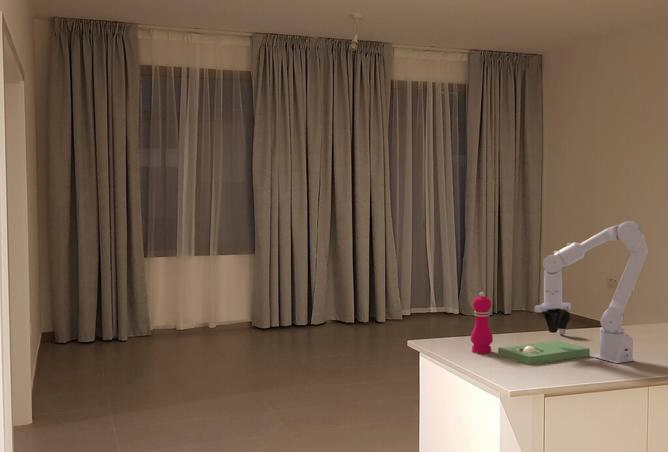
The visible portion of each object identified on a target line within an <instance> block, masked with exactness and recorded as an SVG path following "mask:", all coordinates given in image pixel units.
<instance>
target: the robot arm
mask: <svg viewBox="0 0 668 452" xmlns="http://www.w3.org/2000/svg"><path fill="white" fill-rule="evenodd" d="M618 240H621V242H622V243H623V244H625V246H626V248H627V250H628V252H629V253H630V256H629V257H628V261H627V263H626V265H625V268H624V270H623V272H622V275H621V278H620V280H619V282H618V284H617V287H616V289H615V292H614V294H613V297H612V299H611V302H610V303H609V306H608V308H607V309H606V310H604V312H603V313H602V315H601V316H600V319H599V320H600V322H599V323H600V326H601V327H600V328H599V347H598V348H599V349H598V350H599V352H598V353H599V354H596V355H593V356H592V358H596V359H598V360H604V361H607V362H610V363H614V364H621V363H627V362H633V361H635V358H634V357H633V354H634V353H633V352H634V348H633V347H634V342H633V337H632V336H631V335H630V334H627V333H626V332H625V329H624V328H623V326H622V325H623V323H624V320H625V319H624V312H625V309H626V308H627V304H628V302H629V299H630V297H631V294H632V293H633V290H634V288H635V286H636V283H637V280H638V278H639V276H640V274H641V271H642V268H643V266H644V264H645V262H646V259H647V257H648V253H649V249H648V245H647V242H646V238H645V234H644V231H643V229H642V228H641V227H640V225H639V223H637V222H635V221H633V220H626V221H623V222H622V223H620V224H616V225H613V226H611V227H608V228H605V229H604V230H602V231H600V232H598V233H597V234H594V235H593V236H591V237H590V238H588V239H586V240H584V241H582V242H581V243H580V242H575V241H574V242H572V243H571V242H568V243H566V246H564V247H563V248H561V249H559V250H557V249H556V250H554V251H553V254H548V255H547V256H546V257H545V258H544V259H543V261H542V267H543V269H544V271H543V275H544V276H543V302H542V303H541V304H537V305H534V313H542V316H543V317H544V319H545V322H546V324H547V325H546V326H547V328H548V333H552V334H556V333H557V332H558V325H559V322H560V320H561V318H562V316H563V315H564V311H561V309H565V310H571V309H572V303H571V302H567V301H566V302H563V276H562V272H563V271H562V269H563V267H568V266H570V265H572V264H574V263H576V262H578V261H580V260H581V259H584V258H585V254H586V252H587V251H590V250H591V249H594V248H595V247H598V246H600V245H602V244H603V243H606V242H608V241H618Z"/></svg>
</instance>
